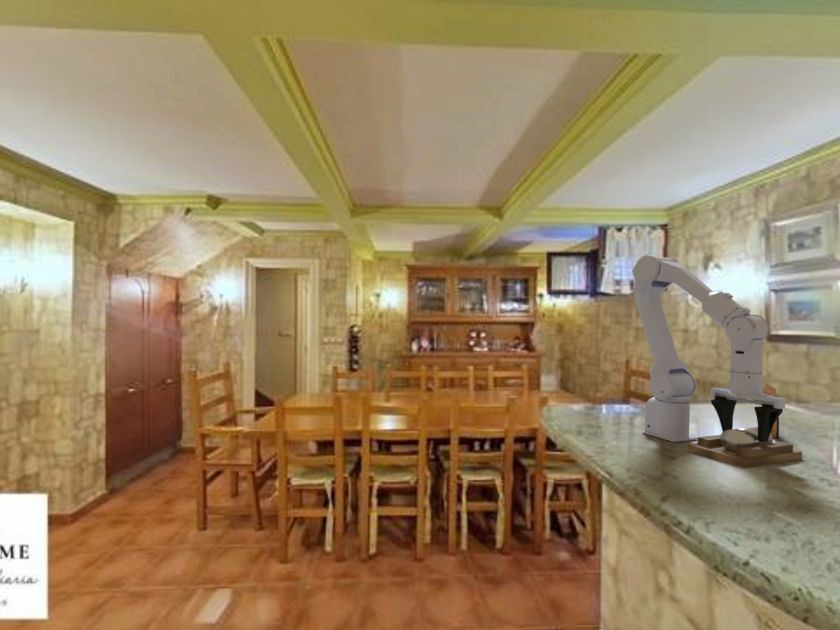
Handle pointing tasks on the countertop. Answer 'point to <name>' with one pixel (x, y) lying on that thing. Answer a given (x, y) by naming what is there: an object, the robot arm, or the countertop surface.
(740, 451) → the cradle block
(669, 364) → the robot arm
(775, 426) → the ammunition clip
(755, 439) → the steel axle
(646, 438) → the countertop surface
